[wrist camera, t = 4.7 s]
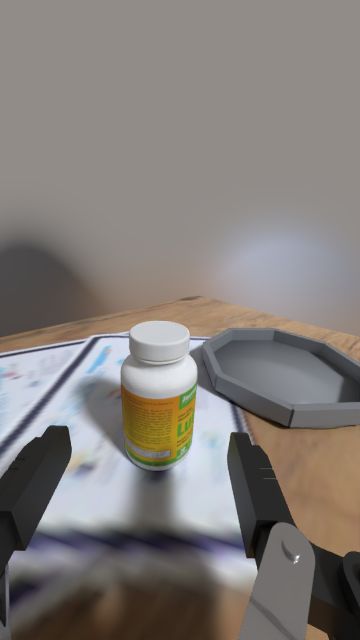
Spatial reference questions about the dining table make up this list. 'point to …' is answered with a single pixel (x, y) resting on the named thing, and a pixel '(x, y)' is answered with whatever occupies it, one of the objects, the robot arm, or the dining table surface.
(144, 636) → the dining table surface
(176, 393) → the supplement bottle
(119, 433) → the dining table surface
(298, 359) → the dish
